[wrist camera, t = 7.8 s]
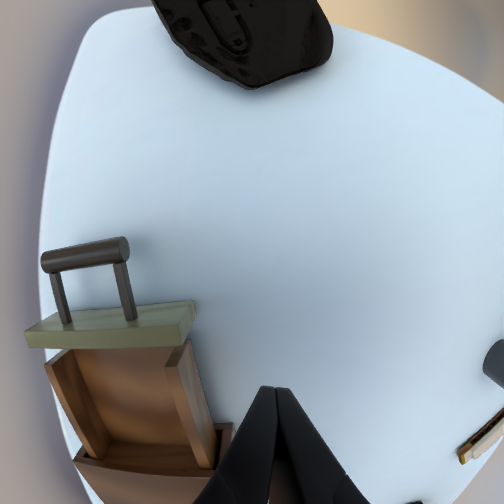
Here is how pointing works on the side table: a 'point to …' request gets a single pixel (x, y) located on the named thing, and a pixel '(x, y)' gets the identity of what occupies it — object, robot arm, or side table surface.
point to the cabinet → (148, 477)
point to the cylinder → (495, 363)
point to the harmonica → (483, 439)
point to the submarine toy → (249, 37)
